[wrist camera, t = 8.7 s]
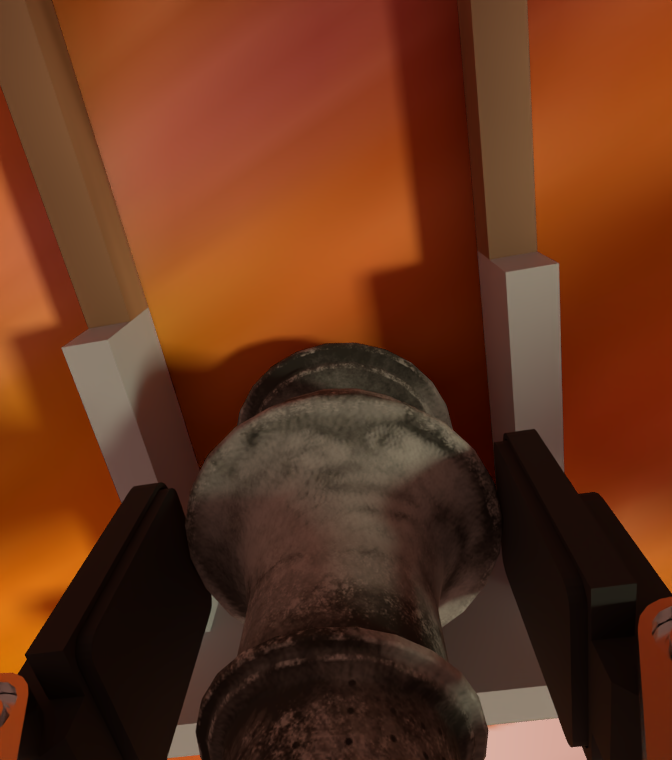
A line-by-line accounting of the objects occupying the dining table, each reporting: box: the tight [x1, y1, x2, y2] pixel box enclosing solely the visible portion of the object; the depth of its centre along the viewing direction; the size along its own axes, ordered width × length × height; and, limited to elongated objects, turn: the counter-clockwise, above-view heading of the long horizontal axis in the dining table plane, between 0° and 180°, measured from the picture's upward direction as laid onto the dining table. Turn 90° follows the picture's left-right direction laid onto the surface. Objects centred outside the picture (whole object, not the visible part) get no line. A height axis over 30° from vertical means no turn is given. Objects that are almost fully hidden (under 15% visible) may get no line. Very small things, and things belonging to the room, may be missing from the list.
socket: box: [62, 250, 564, 758], centre depth 13 cm, size 10×9×5 cm
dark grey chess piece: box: [185, 343, 503, 760], centre depth 8 cm, size 6×6×12 cm
